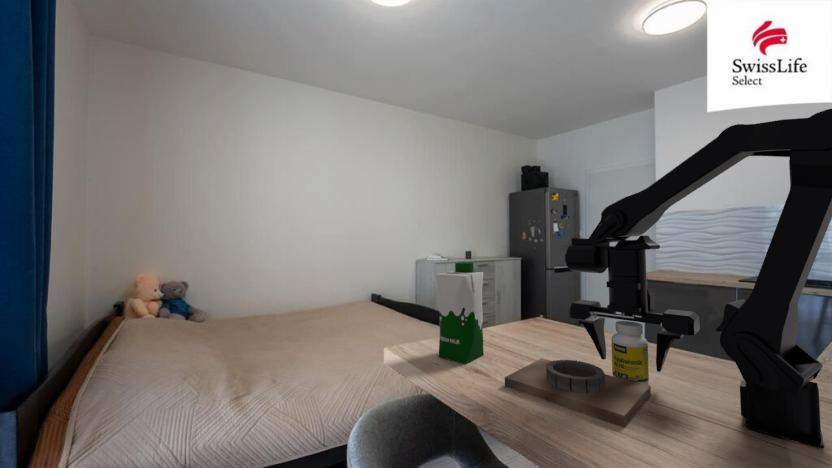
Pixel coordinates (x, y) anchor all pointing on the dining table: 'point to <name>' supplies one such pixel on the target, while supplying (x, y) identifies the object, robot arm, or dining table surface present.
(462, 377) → the dining table surface
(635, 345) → the supplement bottle
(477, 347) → the milk carton
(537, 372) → the socket board
